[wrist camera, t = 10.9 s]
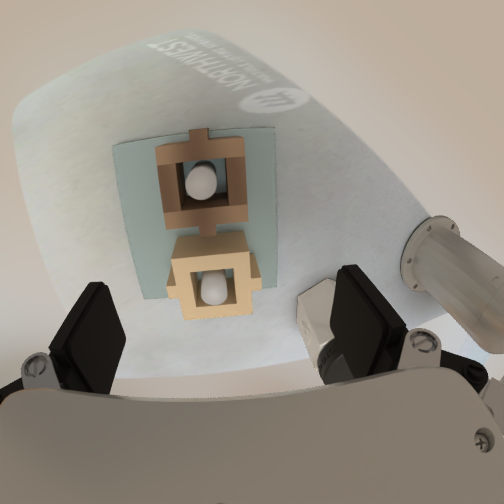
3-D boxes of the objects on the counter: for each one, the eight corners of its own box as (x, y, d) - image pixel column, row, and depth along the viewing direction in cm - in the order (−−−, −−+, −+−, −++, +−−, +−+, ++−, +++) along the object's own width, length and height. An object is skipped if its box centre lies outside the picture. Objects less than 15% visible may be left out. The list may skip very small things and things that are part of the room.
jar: (296, 281, 34) (329, 348, 24) (354, 273, 35) (400, 331, 24) (293, 333, 38) (317, 399, 28) (345, 323, 39) (378, 382, 28)
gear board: (271, 127, 26) (290, 128, 19) (274, 280, 34) (288, 319, 27) (117, 144, 24) (86, 152, 18) (146, 292, 32) (133, 332, 26)
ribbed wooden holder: (238, 125, 24) (243, 125, 20) (243, 214, 28) (249, 232, 24) (164, 133, 23) (153, 135, 19) (175, 221, 27) (168, 240, 23)
